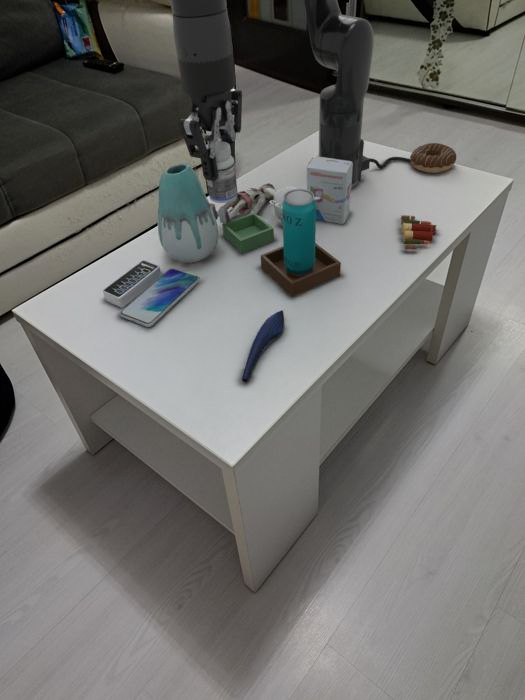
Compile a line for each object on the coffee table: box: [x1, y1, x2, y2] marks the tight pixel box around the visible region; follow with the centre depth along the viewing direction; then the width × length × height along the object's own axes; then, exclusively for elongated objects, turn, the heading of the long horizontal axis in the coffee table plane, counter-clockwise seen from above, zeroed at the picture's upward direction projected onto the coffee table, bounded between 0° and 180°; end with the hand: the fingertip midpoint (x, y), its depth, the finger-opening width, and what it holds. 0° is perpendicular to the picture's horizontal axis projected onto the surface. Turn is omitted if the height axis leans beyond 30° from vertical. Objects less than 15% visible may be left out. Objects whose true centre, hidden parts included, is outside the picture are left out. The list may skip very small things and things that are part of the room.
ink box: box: [306, 155, 353, 225], centre depth 103 cm, size 9×5×12 cm, turn 68°
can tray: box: [260, 242, 342, 298], centre depth 93 cm, size 11×11×3 cm
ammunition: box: [400, 214, 437, 251], centre depth 99 cm, size 12×2×6 cm
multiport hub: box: [102, 260, 163, 309], centre depth 92 cm, size 4×11×2 cm, turn 147°
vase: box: [157, 162, 219, 263], centre depth 94 cm, size 12×12×18 cm
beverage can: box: [282, 188, 317, 276], centre depth 88 cm, size 6×6×15 cm
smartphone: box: [119, 268, 200, 328], centre depth 90 cm, size 7×1×15 cm
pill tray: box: [221, 213, 275, 254], centre depth 102 cm, size 8×8×3 cm
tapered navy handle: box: [241, 310, 285, 383], centre depth 79 cm, size 16×4×2 cm, turn 157°
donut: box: [409, 142, 457, 174], centre depth 119 cm, size 11×11×4 cm
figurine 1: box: [209, 182, 276, 224], centre depth 107 cm, size 6×6×20 cm
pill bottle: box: [205, 140, 238, 204], centre depth 79 cm, size 5×5×8 cm
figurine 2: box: [266, 185, 320, 227], centre depth 103 cm, size 12×8×10 cm
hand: (220, 171), depth 79 cm, fingers closed on pill bottle, 4 cm apart
